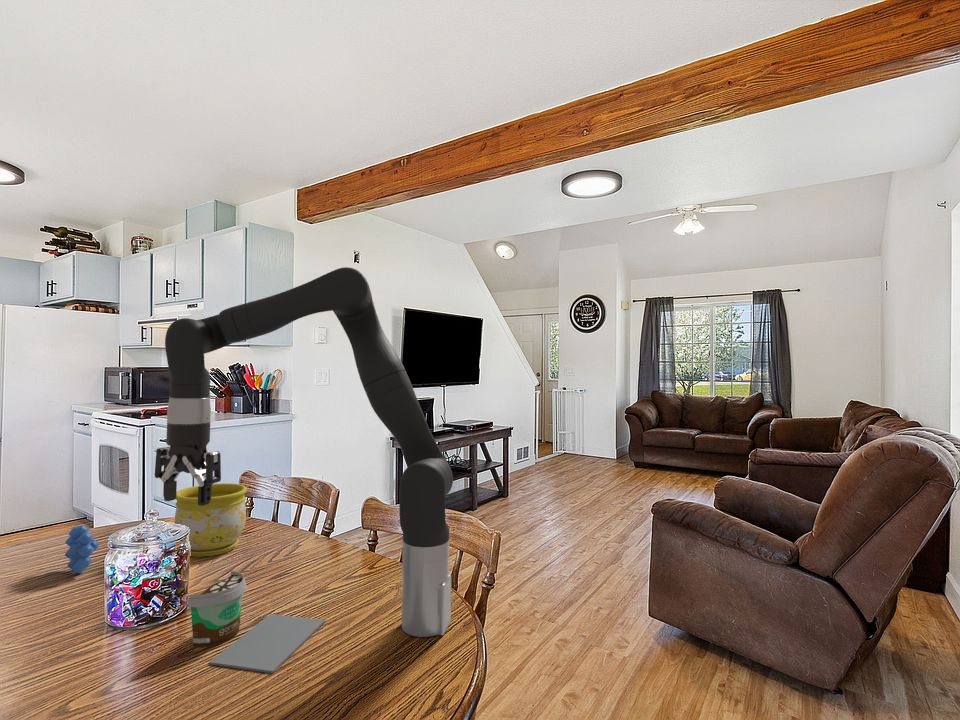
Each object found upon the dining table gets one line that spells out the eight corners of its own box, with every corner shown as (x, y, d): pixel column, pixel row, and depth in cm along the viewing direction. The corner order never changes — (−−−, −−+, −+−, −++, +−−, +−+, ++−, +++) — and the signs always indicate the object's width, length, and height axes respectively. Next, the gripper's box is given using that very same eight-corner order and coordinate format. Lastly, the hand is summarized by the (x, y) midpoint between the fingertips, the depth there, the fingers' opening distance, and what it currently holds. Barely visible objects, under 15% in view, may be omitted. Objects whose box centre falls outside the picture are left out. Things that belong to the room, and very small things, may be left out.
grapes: (109, 573, 129) (110, 524, 129) (76, 582, 124) (76, 531, 124) (90, 562, 136) (91, 516, 136) (58, 570, 130) (59, 522, 131)
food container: (217, 655, 94) (218, 599, 94) (187, 651, 95) (188, 595, 95) (259, 622, 106) (260, 572, 106) (232, 618, 107) (233, 569, 107)
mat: (324, 622, 106) (324, 620, 106) (272, 673, 89) (272, 671, 89) (270, 615, 109) (270, 613, 109) (209, 664, 91) (209, 662, 91)
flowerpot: (259, 546, 150) (260, 488, 150) (197, 566, 134) (198, 502, 134) (222, 534, 159) (223, 480, 159) (160, 552, 144) (161, 492, 144)
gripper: (232, 420, 105) (230, 501, 105) (177, 416, 110) (175, 494, 110) (202, 424, 98) (199, 511, 98) (144, 420, 103) (142, 503, 102)
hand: (186, 502), depth 104 cm, fingers open, 8 cm apart
